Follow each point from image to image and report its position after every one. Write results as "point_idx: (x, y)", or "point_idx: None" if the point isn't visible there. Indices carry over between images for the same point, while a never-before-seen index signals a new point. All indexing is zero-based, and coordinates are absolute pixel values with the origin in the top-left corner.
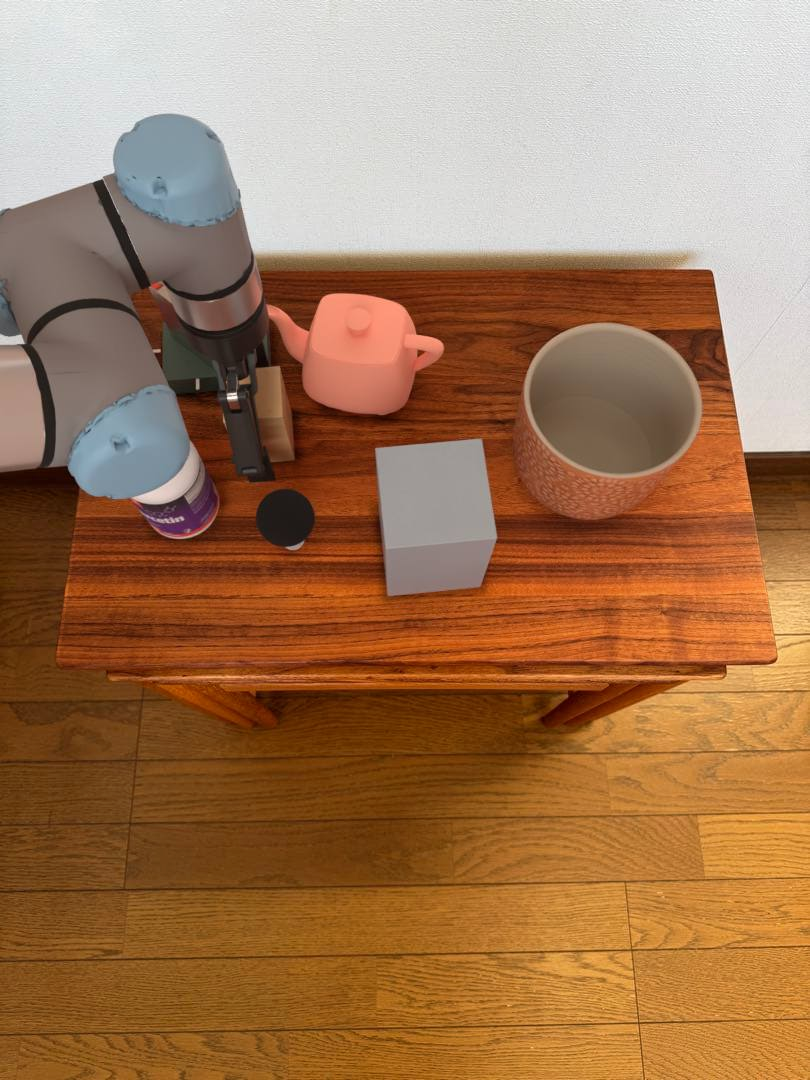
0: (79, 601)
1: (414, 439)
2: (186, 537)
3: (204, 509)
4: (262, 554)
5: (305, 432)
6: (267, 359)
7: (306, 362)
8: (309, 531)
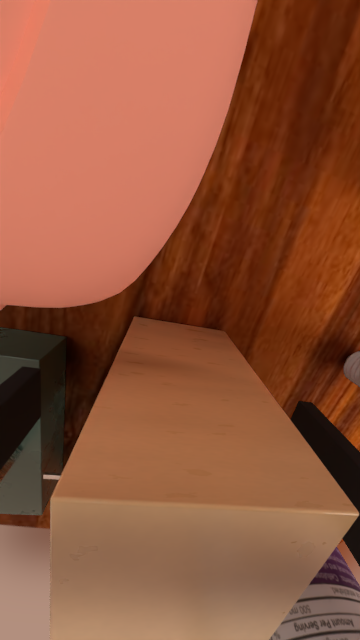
0: None
1: (276, 48)
2: None
3: None
4: (340, 399)
5: (177, 301)
6: (1, 386)
7: (26, 305)
8: None
